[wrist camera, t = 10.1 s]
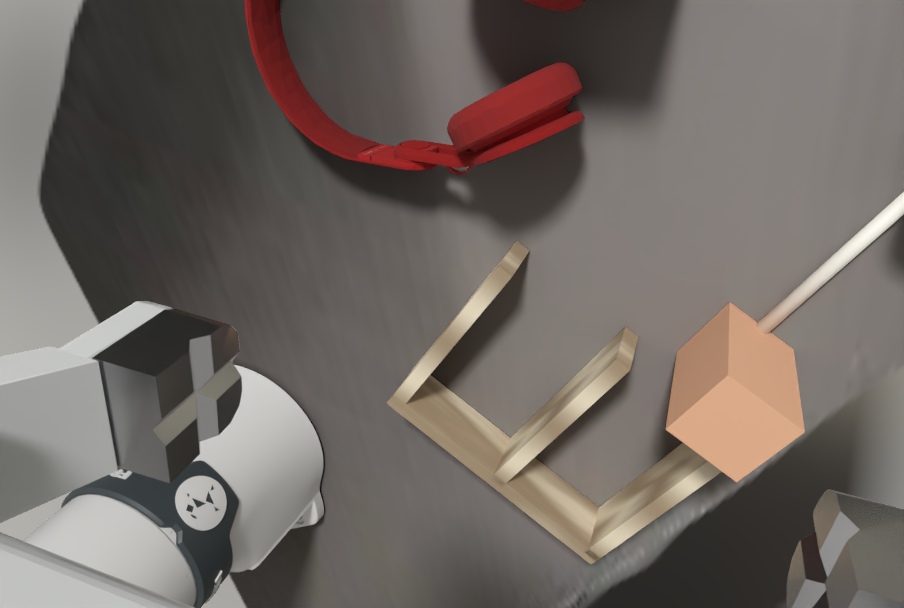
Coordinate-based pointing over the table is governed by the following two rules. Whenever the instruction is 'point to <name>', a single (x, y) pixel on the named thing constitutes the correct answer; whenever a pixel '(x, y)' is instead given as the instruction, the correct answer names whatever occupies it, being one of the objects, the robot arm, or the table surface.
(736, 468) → the block
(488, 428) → the lane shelf
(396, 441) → the table surface
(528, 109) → the headphones
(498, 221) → the table surface
